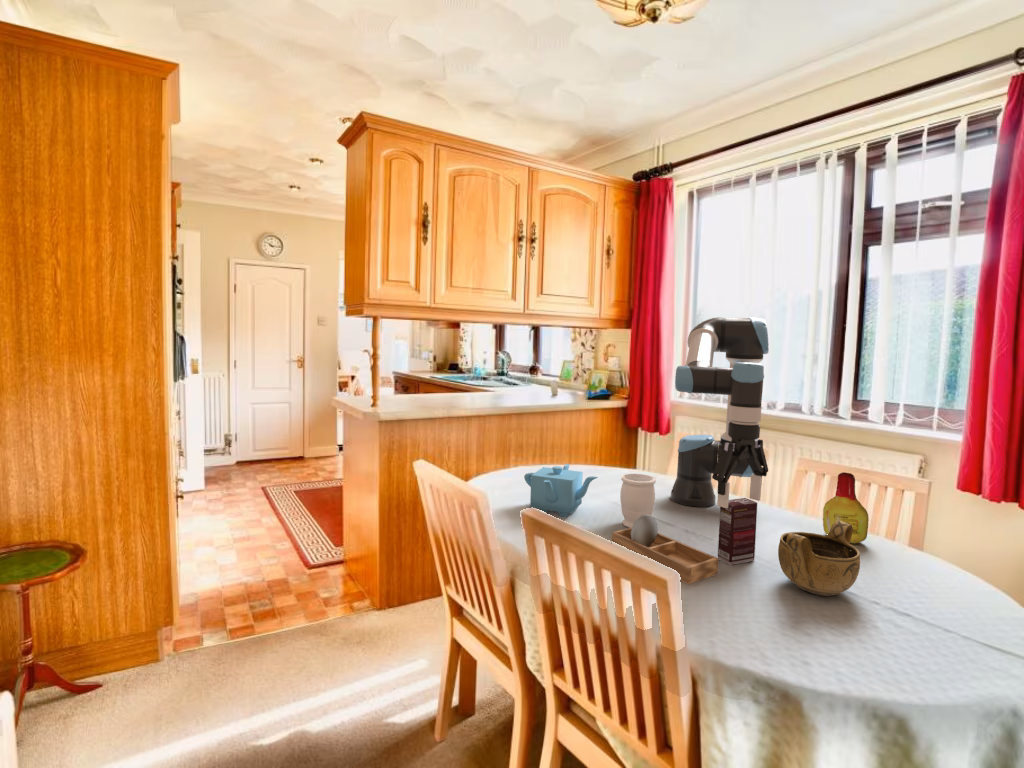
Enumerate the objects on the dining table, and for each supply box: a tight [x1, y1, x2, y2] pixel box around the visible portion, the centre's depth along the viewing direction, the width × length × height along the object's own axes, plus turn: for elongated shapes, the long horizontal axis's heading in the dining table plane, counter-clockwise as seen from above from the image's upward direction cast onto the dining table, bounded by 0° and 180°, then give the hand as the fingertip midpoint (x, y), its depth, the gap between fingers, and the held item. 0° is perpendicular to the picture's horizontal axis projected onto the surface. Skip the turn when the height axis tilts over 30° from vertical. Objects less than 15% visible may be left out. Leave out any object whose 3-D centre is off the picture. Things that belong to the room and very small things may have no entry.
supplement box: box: [717, 497, 758, 566], centre depth 146 cm, size 9×5×16 cm, turn 112°
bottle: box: [822, 471, 870, 544], centre depth 162 cm, size 12×6×20 cm, turn 32°
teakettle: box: [524, 463, 598, 518], centre depth 182 cm, size 19×19×15 cm
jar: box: [619, 473, 656, 528], centre depth 170 cm, size 11×10×15 cm
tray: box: [611, 514, 720, 585], centre depth 145 cm, size 11×26×10 cm, turn 33°
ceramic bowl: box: [777, 521, 861, 597], centre depth 130 cm, size 22×17×15 cm
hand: (739, 503), depth 145 cm, fingers open, 13 cm apart
